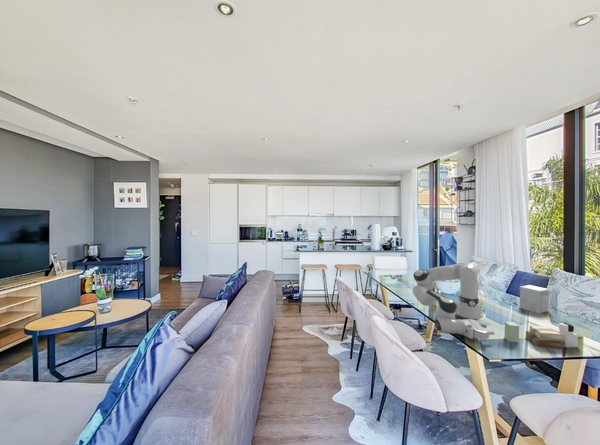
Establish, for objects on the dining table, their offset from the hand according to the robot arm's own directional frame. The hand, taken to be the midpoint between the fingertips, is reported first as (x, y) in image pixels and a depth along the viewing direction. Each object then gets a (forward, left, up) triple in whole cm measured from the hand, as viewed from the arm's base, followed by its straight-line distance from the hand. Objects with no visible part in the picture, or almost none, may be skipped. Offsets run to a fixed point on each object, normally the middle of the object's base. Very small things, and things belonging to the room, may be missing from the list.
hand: (489, 329), depth 161 cm
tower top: (0, +29, -2) cm, 29 cm away
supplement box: (-60, +57, -6) cm, 83 cm away
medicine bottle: (-1, +40, -6) cm, 40 cm away
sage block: (0, +12, -6) cm, 13 cm away
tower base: (0, +28, -6) cm, 29 cm away
